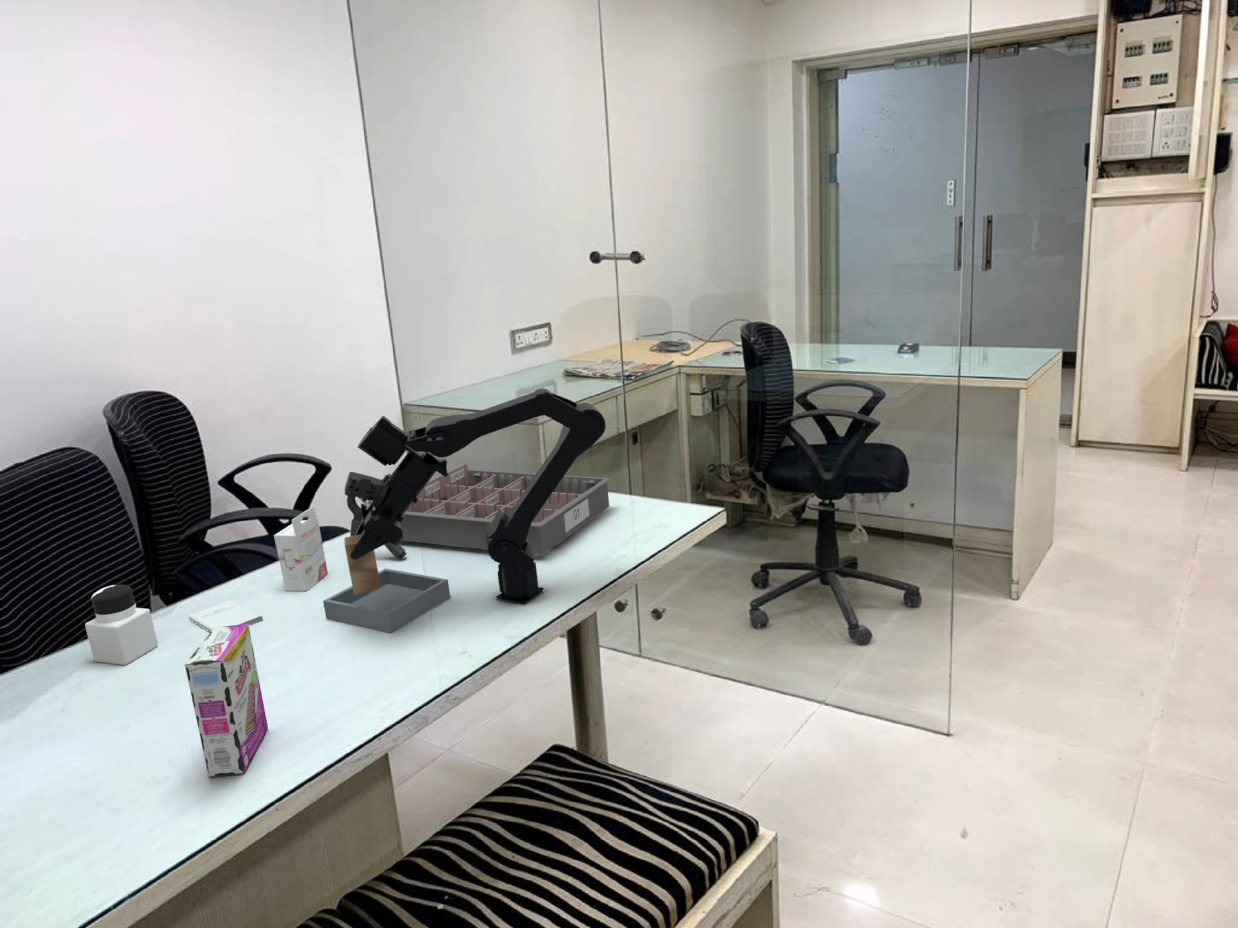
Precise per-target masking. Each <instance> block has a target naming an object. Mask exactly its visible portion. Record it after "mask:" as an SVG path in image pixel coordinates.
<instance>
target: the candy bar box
mask: <svg viewBox="0 0 1238 928" xmlns="http://www.w3.org/2000/svg"><path fill="white" fill-rule="evenodd" d="M252 640H253V639H252V637H251V631H250V626H249V625H248V624H245V625H233V626H225V627H215V628H214V629H213V630H212V631H211V633H210V632H209V634H207V636H206V637H205V639H204V640H203V641H202V642H201V643H200V645H199V646H198V647H197V649H195V651H194V652H193V653H192V655H191V656H190V657H189V658H188V660H187V661H185V663H184V668H185V672H186V676H187V677H186V678H187V680H188V681H187V682H188V686H189V690H190V695H191V700H192V705H193V709H194V715H195V719H196V724H197V729H198V733H199V738H200V743H201V747H202V752H203V757H204V762H205V766H206V769H207V776H208V777H209V778H216V777H217V778H218V777H225V776H226V777H227V776H236V775H237V776H238V775H244V774H245V773H246V771H247V769H248V767H249V766H250V763H251V762H252V760H253V758H254V755H255V754H256V752H257V750H258V748H259V746H260V744H261V743H262V740H263V738H264V737H265V735H266V733H267V731H268V729H269V726H268V725H269V724H268V720H267V715H266V709H265V706H264V700H263V699H264V698H263V696H262V695H263V694H262V690H261V684H260V679H259V673H258V668H257V661H256V658H255V652H254V651H255V650H254V646H253V641H252Z"/></svg>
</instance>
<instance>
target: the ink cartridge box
mask: <svg viewBox="0 0 1238 928" xmlns="http://www.w3.org/2000/svg"><path fill="white" fill-rule="evenodd" d="M304 518H308V519H304ZM273 537H274V542H275V548H276V552H277V556H278V561H279V566H280V570H281V576H282V579H283V585H284V590H285V591H286V592H307V591H309V590H310V589H311V588H313V586H315V585H317V583H319V582H320V581H321V580H322V579H323V578H325V577H326V576H327V575H328V574H329V571H328V568H327V567H328V566H327V562H326V560H327V559H326V556H325V550H324V545H323V540H322V534H321V530H320V524H319V520H318V517H317V513H316V510H315V507H314V506H311V507H310V508H308V509H306V510H305V511H303V512H301V513H300V514H298V515H297V516H296V517H294V518H292V519H291V524H290V525H288V526H286V527H285V528H283V529H282V530H280V531H279V532H277V533H276V534H274V535H273Z"/></svg>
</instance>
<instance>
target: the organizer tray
mask: <svg viewBox="0 0 1238 928" xmlns="http://www.w3.org/2000/svg"><path fill="white" fill-rule="evenodd" d="M447 473H448V476H447V477H444V476H443V475H441V474H440V475H439V476H436V477H435V478H433V479H430V480H429V481H428V483H427V484H426V485H425V487H424V488H423V489H422V491H421V492H420V493H419V494H418V500H417V502H416V503H413V502H412V504H411V505H410V506H409V508H408V509H407V510H406V512H405V513H404V514H403V516H404V519H403V520H402V521H401V528H402V533H403V538H402V539H401V540H400V541H403V542H412V543H422V544H423V543H425V544H431V545H440V546H451V550H453V547H459V548H461V547H462V548H468V549H469V548H470V549H479V550H487V551H488V548H487V541H486V534H487V525H488V524H489V523H491V522H492V520H493V519H494V517H495V515H496V513H497V511H498V509H500V510H501V511H503V512H504V513H506V512H507V511H509V510H510V509H511V508H512V507H513V506H514V505H515V504H516V502H517V501H518V500H519V498H520V497H521V495H522V494H523V492H524V491H525V489H526V488H527V486H528V485H529V484H530V482H531V481H532V479H533V478H534V476H535V475H536V473H537V472H536V473H534V472H532V473H531V472H517V471H503V470H485V469H484V470H483V469H473V468H472V469H470V468H468V463H466V462H465V463H463V464H462V465H459V466H457V467H456V468H453V469H451V470H450V471H447ZM611 480H612V478H611V477H598V476H597V477H596V476H582V475H581V476H580V475H579V476H578V475H566V474H565V475H564V477H563V478H562V479H561V481H560V482H559V484H558V485H557V487H556V488H555V490H554V491H553V492H552V494H551V495H550V497H549V498H548V500H547V501H546V503H545V504H544V505H543V507H542V508H541V510H540V511H539V513H538V514H537V516H536V517H535V518H534V520H533V521H532V523H531V526H530V529H529V532H528V535H527V538H526V541H527V542H528V543H529V544H530V548H531V551H532V555H533V556H535V555H537V556H544V555H545V554H547V553H548V552H549V551H551V550H552V549H553V548H555V547H556V546H557V545H559V544H560V543H561V542H563V541H564V540H565V539H568V538H569V536H571V535H572V534H574V533H576V531H578V530H579V529H580V528H582V527H584V525H585V526H586V524H587V523H589V522H590V521H591V520H593V519H595V517H597V516H598V515H600V514H601V513H602V512H604V511H605V510H606V509H608V508H609V507H610V501H609V500H610V499H609V489H608V488H609V487H608V482H609V481H611ZM396 521H397V520H396ZM398 522H399V521H398ZM399 523H400V522H399Z"/></svg>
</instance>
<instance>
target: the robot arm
mask: <svg viewBox="0 0 1238 928" xmlns="http://www.w3.org/2000/svg"><path fill="white" fill-rule="evenodd" d="M540 416H545V417H548V418H549V419H552V420H553V421H555V422H556V423H559V424H560V425H562V428H561V430H560V434H559V437H558V439H557V440H558V441H557V442H556V444H555V445H554V447H553V449H552V450H551V452H550V453H549V455H548V456H547V457H546V458H545V460H544V462H543V463H542V465H541V466H540V468H539V469H538V470H537V472H536V475H535V476H534V478H533V479H532V481H531V482H530V484H529V485H528V486H527V488H526V489H525V491H524V492H523V494H522V495H521V497H520V498H519V500H518V501H517V502H516V504H515V505H514V506H513V507H512V508H511V509H510V510H509V511H507V512H506V513H504V512H503V511H501V510H500V509H498V511H497V513H496V515H495V517H494V519H493V520H492V522H491V523H489V524H488V525H487V534H486V541H487V548H488V550H487V552H488V555H489V557H490V559H491V560H493V561H494V562H496V563H497V566H498V567H497V569H498V571H496V572H497V578H498V579H497V580H498V589H499V592H500V593H499V594H497V595H496V596H495V597H496V600H498V601H499V600H500V601H505V602H510V603H516V604H519V605H520V604H522V605H524V604H527V603H528V602H530V601H532V600H533V599H534V598H536V597H537V596H539V595H540V594H541V593H540V592H542V591H543V590H544V591H545V588H544V587H542V586H541V587H539V580H538V573H537V571H538V570H537V563H536V561H535V559H534V555H533V554H532V551H531V548H530V544H529V543H528V542H527V541H526V538H527V535H528V532H529V529H530V526H531V523H532V521H533V520H534V518H535V517H536V516H537V514H538V513H539V511H540V510H541V508H542V507H543V505H544V504H545V503H546V501H547V500H548V498H549V497H550V495H551V494H552V492H553V491H554V490H555V488H556V487H557V485H558V484H559V482H560V481H561V479H562V478H563V477H564V475H566V474H567V472H568V471H569V469H570V468H571V467H572V465H573V464H574V462H575V461H576V460H577V458H578V457H580V456H581V455H582V454H584V453H585V452H587V451H588V450H589V449H591V448H592V446H593V445H595V443H596V442H598V440H599V439H601V437H602V436H604V434H605V432H606V431H605V430H606V429H607V427H606V420H605V418H604V416H603V414H602V413H601V412H600V411H599V410H598V408H597V407H596V406H595V405H593V404H591V403H589V402H581V403H578V402H576V401H573V400H570V399H568V398H566V397H564V396H561V395H558V394H555V393H554V392H551V391H550V390H549V389H547V388H544V387H541V388H538V389H535V390H534V391H533V392H531V393H527V394H525V395H521V396H518V397H516V398H513V399H510V400H507V401H505V402H501V403H499V404H496V405H493V406H491V407H487V408H484V409H482V410H479V411H477V412H473V413H468V414H454V415H448V416H447V415H446V416H442V417H436V418H434V419H432V420H431V421H429V422H428V424H427V425H426V426H422V427H420V428H416V429H412V430H408V431H407V432H405V431H404V430H403V429H401V428H400V427H398V426H397V425H396V424H394V423H393V422H392V421H391V420H390V419H389V418H388V417H386V416H385V415H382V416H381V417H380V418H379V419H378V421H376V422H375V424H374V425H373V426H372V427H369V428H368V430H367V432H366V433H365V434H364V436H363V437H362V438H361V440H360V441H359V444H358V445H357V448H358V449H359V450H361V451H362V452H364V453H365V454H366V455H368V456H369V457H371V458H372V459H374V460H375V461H376V462H378V463H380V464H381V465H382V466H384V467H387V465H388V466H390V467H391V466H392V465H393V466H395V465H396V464H397V463H398V462H399V460H400V459H401V458H402V457H403V455H404V454H405V452H407V451H408V452H407V453H406V455H405V456H404V458H402V460H401V461H400V463H399V464H398V465H397V466H396V468H395V469H394V471H393V472H392V473H388V474H385V475H384V476H383V478H382V479H380V478H376V477H374V476H370V475H366V474H363V473H358V472H354V471H349V473H348V475H347V479H346V483H345V486H344V495H345V496H347V497H348V496H349V497H355V498H358V499H359V498H362V500H363V501H364V502H365V501H366V500H368V501H369V502H368V503H367V504H366V505H365V504H364V503H363V502H361V503H360V508H361V510H362V516H363V518H362V520H361V523H360V525H359V527H358V529H357V532H356V534H355V535H361V536H360V538H359V540H358V542H357V544H356V546H355V548H354V550H353V551H352V553H351V558H353V559H354V560H356V559H358V558H360V557H362V556H364V555H366V554H367V553H369V552H371V551H373V550H374V551H375V550H376V549H378V548H380V547H382V546H385V544H387V543H389V542H390V543H392V544H393V545H397V544H400V542H401V541H402V540H401V539H402V538H403V533H402V528H401V521H402V520H403V519H404V516H403V514H404V513H405V512H406V510H407V509H408V508H409V506H410V505H411V504H412V502H413V503H416V502H417V500H418V494H419V493H420V492H421V491H422V489H423V488H424V487H425V485H426V484H427V483H428V481H431V480H432V477H433V476H434V475H435V473H436V472H438V473H439V474H440V476H441V475H443V476H444V477H447V476H448V473H447V472H448V470H447V469H448V468H447V467H448V466H447V465H448V460H447V458H448V457H451V456H452V455H454V454H456V453H457V452H459V451H461V450H462V449H464V448H466V447H467V446H469V445H470V444H471V443H473V442H474V441H476V440H477V439H479V438H481V437H483V436H486V435H489V434H492V433H494V432H498V431H500V430H504V429H506V428H509V427H512V426H514V425H517V424H521V423H523V422H525V421H529V420H531V419H534V418H537V417H540ZM440 458H441V459H440ZM396 520H397V521H396ZM398 521H399V522H400V523H399V522H398ZM544 591H543V592H544ZM543 592H542V593H543ZM539 593H540V594H539ZM538 594H539V595H538ZM535 596H536V597H535Z"/></svg>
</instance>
